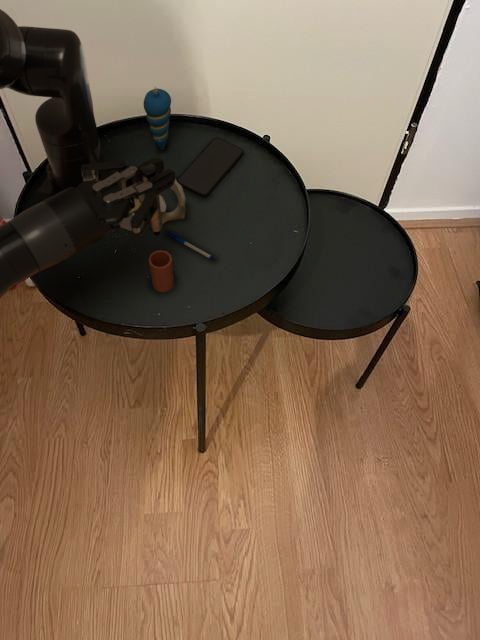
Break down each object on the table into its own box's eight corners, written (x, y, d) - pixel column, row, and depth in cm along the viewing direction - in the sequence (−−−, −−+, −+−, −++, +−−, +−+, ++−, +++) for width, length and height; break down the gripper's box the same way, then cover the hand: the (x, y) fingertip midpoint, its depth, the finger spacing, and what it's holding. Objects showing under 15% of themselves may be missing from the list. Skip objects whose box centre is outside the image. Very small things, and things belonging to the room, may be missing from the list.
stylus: (148, 236, 84) (138, 171, 73) (152, 226, 85) (143, 161, 74) (160, 239, 84) (153, 175, 73) (165, 229, 85) (158, 164, 74)
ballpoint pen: (165, 236, 102) (164, 232, 101) (168, 232, 102) (167, 229, 102) (213, 261, 100) (213, 258, 99) (215, 258, 100) (215, 254, 99)
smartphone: (174, 181, 108) (215, 135, 114) (174, 184, 109) (215, 139, 115) (206, 196, 106) (246, 149, 113) (206, 200, 107) (245, 153, 113)
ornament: (178, 144, 114) (173, 80, 101) (169, 161, 112) (164, 98, 99) (154, 139, 115) (147, 74, 102) (145, 155, 112) (136, 92, 99)
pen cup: (149, 289, 96) (145, 265, 90) (156, 272, 98) (153, 248, 92) (170, 294, 95) (167, 270, 89) (176, 277, 97) (174, 253, 91)
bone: (127, 218, 101) (141, 167, 96) (145, 210, 107) (158, 161, 102) (167, 239, 100) (183, 188, 95) (183, 229, 106) (198, 181, 101)
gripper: (79, 245, 64) (198, 178, 70) (20, 176, 69) (135, 119, 75) (91, 282, 71) (199, 217, 77) (36, 215, 76) (141, 160, 82)
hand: (167, 169), depth 76 cm, fingers closed on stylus, 2 cm apart
